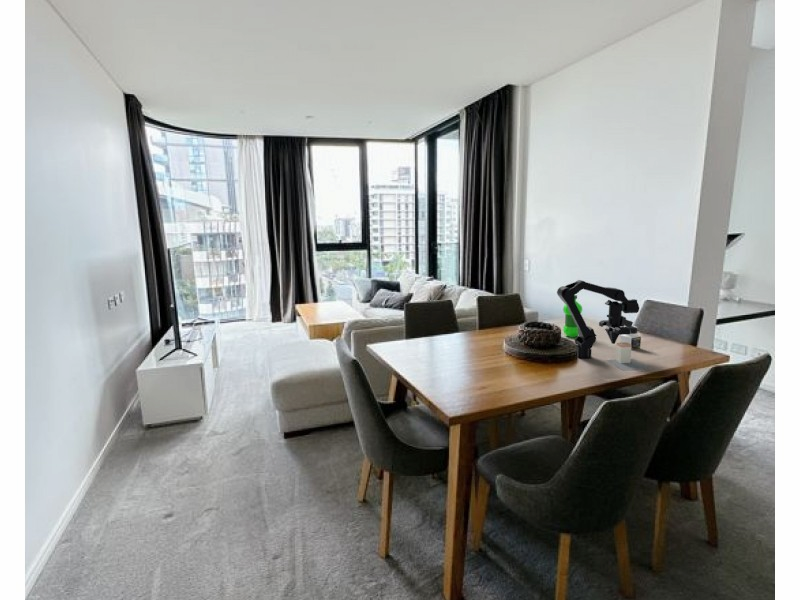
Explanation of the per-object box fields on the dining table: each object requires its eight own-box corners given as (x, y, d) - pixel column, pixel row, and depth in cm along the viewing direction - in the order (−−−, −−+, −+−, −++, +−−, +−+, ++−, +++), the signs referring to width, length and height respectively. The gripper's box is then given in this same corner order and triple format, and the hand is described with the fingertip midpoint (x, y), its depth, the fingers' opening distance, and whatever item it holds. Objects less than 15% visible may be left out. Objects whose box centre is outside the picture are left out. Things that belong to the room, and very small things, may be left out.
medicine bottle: (630, 350, 217) (632, 328, 215) (619, 347, 224) (620, 325, 222) (640, 348, 220) (642, 327, 218) (628, 345, 227) (630, 324, 224)
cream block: (620, 363, 198) (621, 345, 196) (615, 360, 201) (616, 342, 200) (630, 362, 198) (631, 344, 196) (625, 360, 202) (626, 342, 200)
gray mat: (622, 371, 188) (622, 370, 188) (604, 361, 203) (605, 360, 203) (652, 370, 189) (652, 368, 189) (632, 359, 203) (632, 358, 203)
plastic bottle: (582, 334, 251) (583, 294, 246) (579, 339, 242) (580, 297, 237) (564, 333, 256) (566, 293, 251) (561, 337, 247) (562, 296, 243)
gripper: (642, 316, 196) (640, 348, 198) (620, 309, 214) (618, 337, 217) (619, 317, 195) (617, 349, 198) (599, 310, 214) (597, 338, 216)
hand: (613, 343), depth 207 cm, fingers closed
